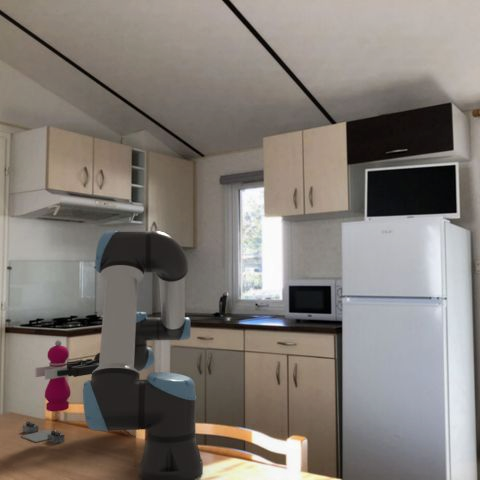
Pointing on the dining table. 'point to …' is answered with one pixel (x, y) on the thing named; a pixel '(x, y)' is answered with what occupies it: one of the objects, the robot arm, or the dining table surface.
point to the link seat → (38, 436)
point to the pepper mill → (57, 380)
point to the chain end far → (30, 427)
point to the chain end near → (55, 437)
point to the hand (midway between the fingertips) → (40, 373)
